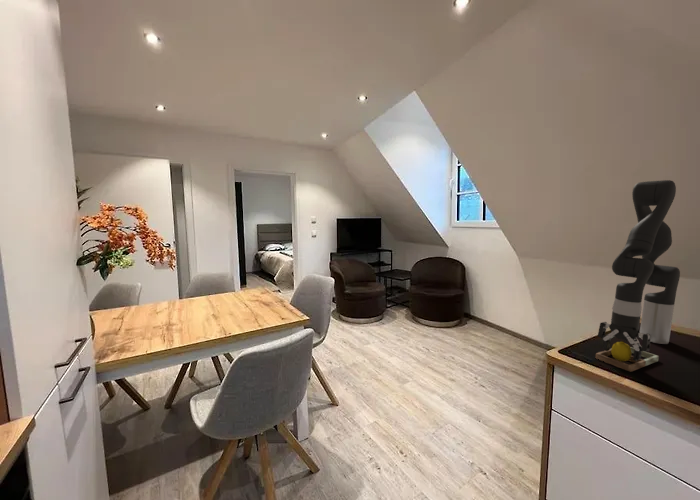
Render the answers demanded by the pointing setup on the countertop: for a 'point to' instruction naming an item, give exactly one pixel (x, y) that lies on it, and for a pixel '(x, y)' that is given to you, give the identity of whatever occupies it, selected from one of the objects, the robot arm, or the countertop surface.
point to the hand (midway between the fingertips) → (620, 355)
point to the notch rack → (637, 364)
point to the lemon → (621, 351)
